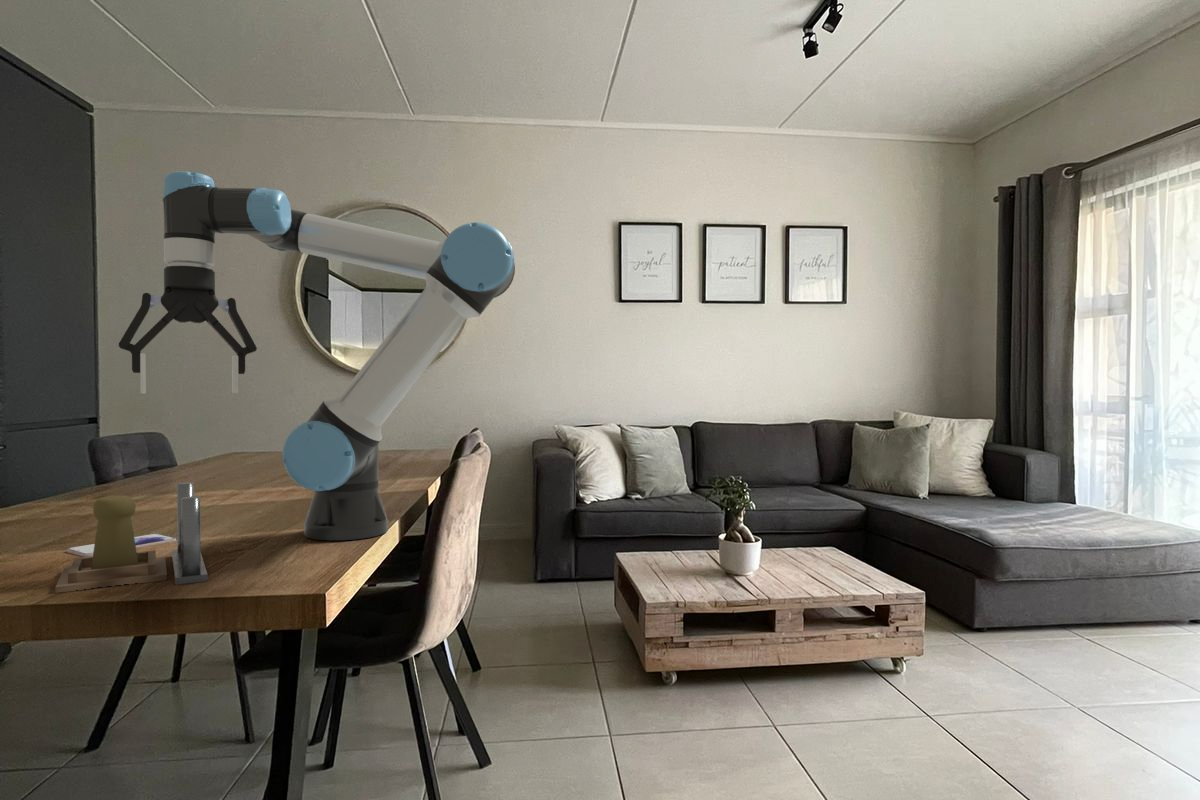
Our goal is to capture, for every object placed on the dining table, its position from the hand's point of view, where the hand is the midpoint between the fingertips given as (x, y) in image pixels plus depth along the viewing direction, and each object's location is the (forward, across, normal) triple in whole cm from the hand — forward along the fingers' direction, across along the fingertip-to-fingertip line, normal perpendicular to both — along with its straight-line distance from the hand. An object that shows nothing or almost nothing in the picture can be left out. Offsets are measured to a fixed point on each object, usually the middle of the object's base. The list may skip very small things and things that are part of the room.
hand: (190, 393), depth 125 cm
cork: (+26, +10, +13) cm, 31 cm away
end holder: (+27, +10, +13) cm, 31 cm away
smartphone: (+27, +10, -10) cm, 31 cm away
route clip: (+27, +1, +13) cm, 30 cm away
